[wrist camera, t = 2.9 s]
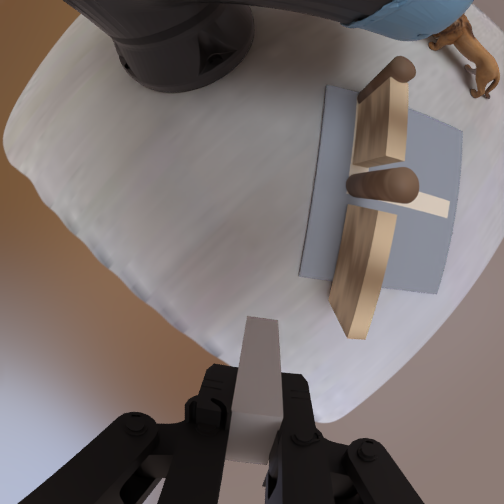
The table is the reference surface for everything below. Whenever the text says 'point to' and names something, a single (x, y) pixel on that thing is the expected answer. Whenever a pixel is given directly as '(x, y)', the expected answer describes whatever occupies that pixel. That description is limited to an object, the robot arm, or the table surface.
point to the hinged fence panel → (361, 268)
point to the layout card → (408, 215)
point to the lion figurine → (470, 54)
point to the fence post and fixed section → (384, 137)
